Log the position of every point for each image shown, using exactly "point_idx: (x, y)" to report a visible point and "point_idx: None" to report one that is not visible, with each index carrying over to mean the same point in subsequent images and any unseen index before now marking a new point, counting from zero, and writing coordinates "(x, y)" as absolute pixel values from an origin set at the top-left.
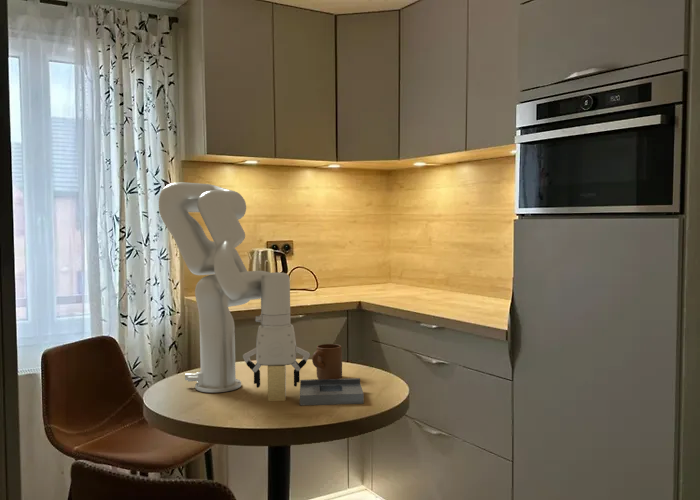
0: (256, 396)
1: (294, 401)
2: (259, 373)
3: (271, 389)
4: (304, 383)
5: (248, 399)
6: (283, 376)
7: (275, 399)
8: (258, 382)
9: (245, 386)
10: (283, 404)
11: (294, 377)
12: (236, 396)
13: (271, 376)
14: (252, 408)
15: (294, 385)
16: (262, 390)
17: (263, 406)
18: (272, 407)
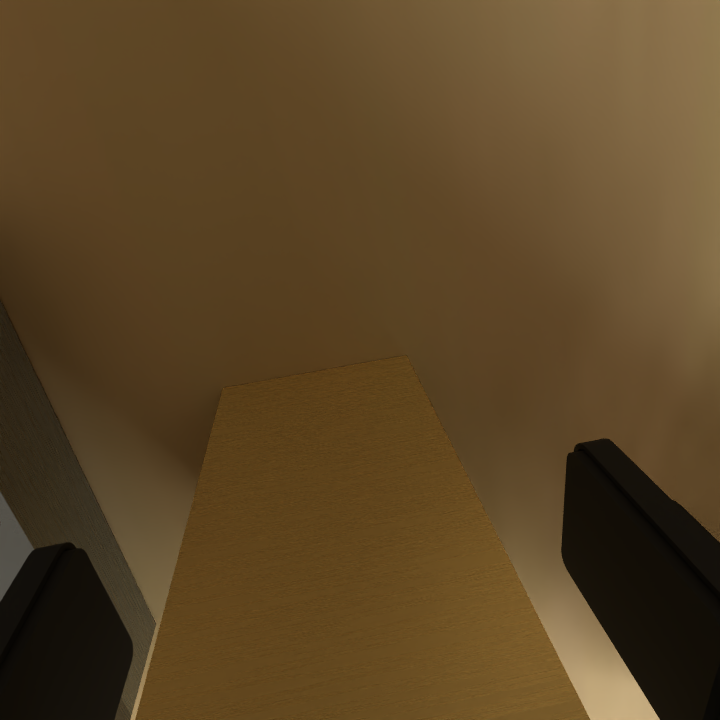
0: (537, 485)
1: (105, 369)
2: (684, 660)
3: (391, 431)
4: None
5: (607, 392)
6: (189, 630)
7: (329, 377)
8: (618, 487)
9: (631, 683)
10: (196, 242)
11: (2, 673)
12: (709, 465)
13: (437, 585)
14: (552, 35)
15: (68, 552)
16: None
17: (425, 139)
18: (300, 94)
